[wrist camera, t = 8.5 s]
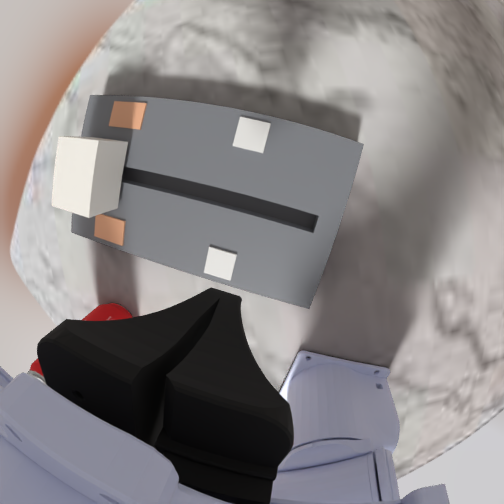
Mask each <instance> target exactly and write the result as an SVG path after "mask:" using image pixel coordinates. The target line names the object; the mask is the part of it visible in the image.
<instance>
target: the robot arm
mask: <svg viewBox="0 0 504 504" xmlns="http://www.w3.org/2000/svg"><path fill="white" fill-rule="evenodd" d="M241 301H242V299H241V297H240V296H237V295H234V294H231V293H227V292H224V291H221V290H218V289H214V288H209V289H207V290H205V291H203V292H201V293H200V294H198V295H196V296H194V297H192V298H190V299H188V300H186V301H184V302H182V303H179V304H177V305H174V306H172V307H169V308H167V309H164V310H161V311H158V312H155V313H151V314H147V315H143V316H138V317H132V318H126V319H119V320H106V321H85V320H70V319H66V320H65V321H63V322H62V323H61V324H60V325H58V326H57V327H56V328H55V329H53V330H52V331H51V332H50V333H48V334H47V335H46V336H45V337H43V338H42V339H41V340H40V342H39V343H38V346H37V355H38V360H39V364H40V367H41V370H42V373H43V376H44V379H45V382H46V384H47V385H46V384H44V383H43V382H42V381H40V380H39V379H37V378H35V377H33V376H31V375H29V374H27V373H21V374H19V375H17V376H16V377H15V378H14V379H13V378H12V377H11V376H10V375H9V374H8V373H7V372H6V371H5V370H4V369H2V368H1V367H0V504H449V499H448V495H447V491H446V487H445V484H441V485H435V486H429V487H424V488H420V489H417V490H414V491H412V492H411V493H409V494H408V495H406V496H405V497H404V498H403V499H400V496H399V490H398V484H397V478H396V473H395V467H394V462H393V457H392V453H393V452H394V450H395V448H396V446H397V443H398V439H399V432H400V424H399V418H398V415H397V411H396V408H395V404H394V401H393V398H392V395H391V391H390V388H389V385H388V382H387V377H388V376H389V374H390V370H389V368H386V367H380V366H374V365H369V364H364V363H359V362H354V361H349V360H344V359H339V358H335V357H330V356H326V355H321V354H317V353H313V352H308V351H300V352H299V353H298V354H297V356H296V359H295V361H294V363H293V365H292V367H291V369H290V371H289V373H288V375H287V378H286V380H285V382H284V384H283V386H282V388H281V390H280V392H279V393H278V391H277V390H276V389H275V388H274V387H273V386H272V385H271V384H270V382H269V381H268V380H267V378H266V377H265V375H264V374H263V372H262V371H261V369H260V368H259V366H258V364H257V363H256V361H255V359H254V357H253V355H252V352H251V350H250V348H249V345H248V342H247V339H246V336H245V332H244V329H243V324H242V318H241ZM308 356H310V358H306V357H308ZM377 370H378V371H377ZM375 371H377V372H375Z"/></svg>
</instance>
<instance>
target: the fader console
mask: <svg viewBox="0 0 504 504" xmlns="http://www.w3.org/2000/svg"><path fill="white" fill-rule="evenodd" d="M81 137H95V138H103V139H111V140H119V141H126V142H128V146H127V151H126V157H125V162H124V168H123V174H122V181H121V187H120V195H119V203H118V208H117V209H114V210H111V211H108V212H105V213H102V214H99V215H96V216H93V217H90V218H87V217H84V216H81V215H78V214H75V213H72V229H71V232H72V233H75V234H77V235H80V236H83V237H85V238H88V239H91V240H93V241H96V242H99V243H102V244H104V245H107V246H110V247H113V248H115V249H118V250H121V251H124V252H127V253H130V254H133V255H135V256H138V257H141V258H144V259H147V260H150V261H153V262H156V263H159V264H162V265H165V266H168V267H171V268H174V269H177V270H180V271H183V272H186V273H189V274H193V275H196V276H199V277H202V278H205V279H208V280H212V281H215V282H218V283H221V284H225V285H228V286H231V287H234V288H238V289H241V290H244V291H248V292H251V293H255V294H258V295H261V296H265V297H268V298H272V299H275V300H279V301H282V302H286V303H289V304H293V305H297V306H300V307H304V308H308V309H309V308H310V306H311V303H312V301H313V298H314V295H315V293H316V290H317V288H318V285H319V282H320V280H321V277H322V274H323V272H324V269H325V266H326V263H327V261H328V258H329V255H330V252H331V249H332V246H333V244H334V241H335V238H336V235H337V232H338V229H339V226H340V223H341V220H342V217H343V214H344V210H345V207H346V204H347V201H348V198H349V194H350V191H351V188H352V184H353V181H354V178H355V174H356V171H357V167H358V164H359V160H360V156H361V153H362V149H363V145H364V144H362V143H359V142H356V141H354V140H351V139H348V138H345V137H342V136H339V135H336V134H333V133H330V132H327V131H323V130H320V129H317V128H313V127H310V126H307V125H303V124H299V123H296V122H292V121H288V120H284V119H280V118H276V117H272V116H268V115H264V114H259V113H255V112H250V111H245V110H240V109H235V108H230V107H224V106H218V105H212V104H206V103H199V102H192V101H184V100H175V99H165V98H154V97H140V96H119V95H90V98H89V102H88V106H87V111H86V115H85V120H84V124H83V129H82V135H81Z"/></svg>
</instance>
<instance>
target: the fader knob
mask: <svg viewBox="0 0 504 504" xmlns="http://www.w3.org/2000/svg"><path fill="white" fill-rule="evenodd" d="M127 146H128V142H126V141H119V140H111V139H103V138H95V137H74V136H59V140H58V146H57V153H56V160H55V169H54V179H53V191H52V206H54V207H57V208H60V209H63V210H66V211H69V212H72V213H75V214H78V215H81V216H84V217H87V218H90V217H93V216H96V215H99V214H102V213H105V212H108V211H111V210H114V209H117V208H118V203H119V195H120V187H121V181H122V174H123V168H124V162H125V157H126V151H127Z"/></svg>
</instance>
